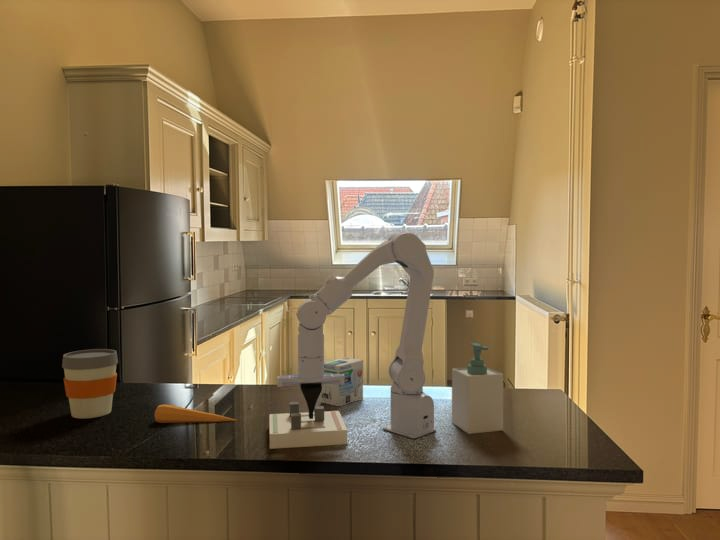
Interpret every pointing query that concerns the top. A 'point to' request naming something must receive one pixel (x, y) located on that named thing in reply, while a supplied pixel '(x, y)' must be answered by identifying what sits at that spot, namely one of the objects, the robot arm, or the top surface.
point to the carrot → (185, 415)
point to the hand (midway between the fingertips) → (311, 417)
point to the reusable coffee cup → (90, 381)
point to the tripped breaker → (319, 413)
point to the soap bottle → (477, 396)
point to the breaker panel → (306, 429)
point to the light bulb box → (351, 386)
